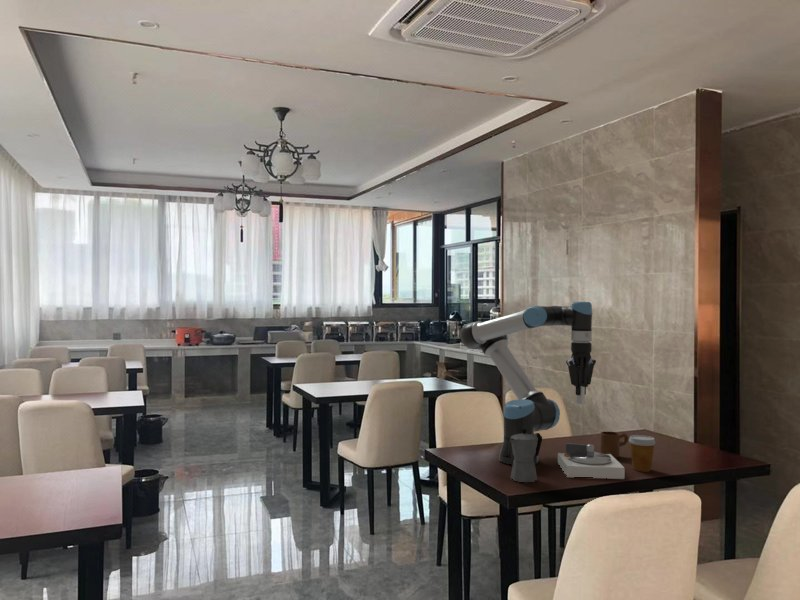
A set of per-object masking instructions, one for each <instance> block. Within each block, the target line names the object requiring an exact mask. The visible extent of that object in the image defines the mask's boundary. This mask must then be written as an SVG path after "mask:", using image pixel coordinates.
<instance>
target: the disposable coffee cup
mask: <svg viewBox="0 0 800 600" xmlns="http://www.w3.org/2000/svg"><path fill="white" fill-rule="evenodd" d="M628 442H629V445H630V446H629V447H630V455H631V456H630V457H631V465H632V469H633V470H634V471H638V472H643V473H647V472H650V471H651V470H652V465H653V464H652V462H653V456H654V450H655V449H654V448H655V445H656V443H657V441H656V440H655V437H653V436H649V435H643V434H642V435H641V434H640V435H639V434H633V435H630V436H629V438H628Z"/></svg>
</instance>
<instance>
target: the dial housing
mask: <svg viewBox="0 0 800 600" xmlns="http://www.w3.org/2000/svg"><path fill="white" fill-rule="evenodd" d="M607 455H609V456H610V457H611V462H610V463H609V464H604V465H588V464H581V463H577V462H573V461H571V460H570V459H569V455H566V452H557V464H558V465H560V466H559V467H560V468H562V469H561V470H562V472H563V471H564V472H563V473H564V475H565V474H566V475H567V476H566V475H565V476H566V478H574V477H593V478H592V479H606V478H607V479H611V480H612V479H614V480H625V477H626V476H625V473H626V472H625V470H626V469H625V467H624V466H623V465H622V464H621V463H620V461H618V459H617V458H614V457H613V456H612V455H611V454H607Z"/></svg>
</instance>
